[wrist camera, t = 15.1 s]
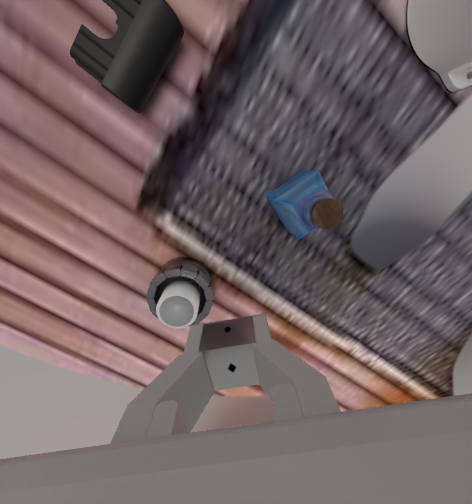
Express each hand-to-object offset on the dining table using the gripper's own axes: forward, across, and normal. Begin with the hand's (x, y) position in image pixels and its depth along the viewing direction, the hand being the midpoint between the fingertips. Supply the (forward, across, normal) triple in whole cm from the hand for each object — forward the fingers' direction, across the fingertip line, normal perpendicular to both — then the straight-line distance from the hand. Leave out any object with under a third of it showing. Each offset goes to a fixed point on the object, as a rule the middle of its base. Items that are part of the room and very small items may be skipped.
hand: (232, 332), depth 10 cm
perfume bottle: (+28, -9, 0) cm, 30 cm away
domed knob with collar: (+27, +10, +10) cm, 30 cm away
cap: (+24, +10, +10) cm, 27 cm away
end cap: (+28, +8, -20) cm, 35 cm away
